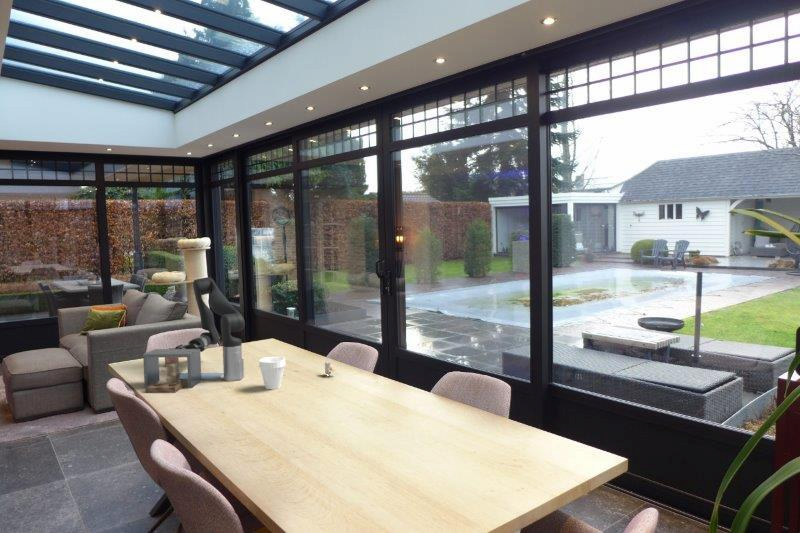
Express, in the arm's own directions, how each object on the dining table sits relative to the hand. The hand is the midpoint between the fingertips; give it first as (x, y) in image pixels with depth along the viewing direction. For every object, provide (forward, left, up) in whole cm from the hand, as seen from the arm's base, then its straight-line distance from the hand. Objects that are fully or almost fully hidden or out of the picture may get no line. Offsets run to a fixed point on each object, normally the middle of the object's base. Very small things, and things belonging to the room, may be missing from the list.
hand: (184, 351), depth 290 cm
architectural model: (-74, -3, -14) cm, 75 cm away
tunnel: (0, +14, -13) cm, 20 cm away
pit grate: (0, +24, -13) cm, 28 cm away
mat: (-5, -1, -13) cm, 15 cm away
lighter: (+19, -25, -14) cm, 34 cm away
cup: (-51, +19, -14) cm, 56 cm away
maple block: (0, +14, -14) cm, 20 cm away
